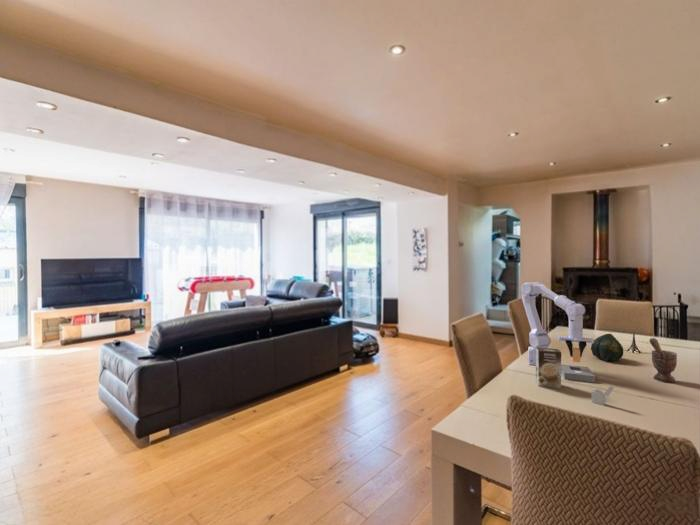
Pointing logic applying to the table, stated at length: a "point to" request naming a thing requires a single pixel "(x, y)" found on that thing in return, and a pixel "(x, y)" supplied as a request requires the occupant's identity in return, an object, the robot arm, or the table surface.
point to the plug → (575, 354)
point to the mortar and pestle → (663, 362)
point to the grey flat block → (577, 373)
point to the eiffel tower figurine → (634, 345)
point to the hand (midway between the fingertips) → (575, 356)
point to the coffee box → (548, 367)
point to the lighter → (600, 395)
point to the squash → (607, 348)
